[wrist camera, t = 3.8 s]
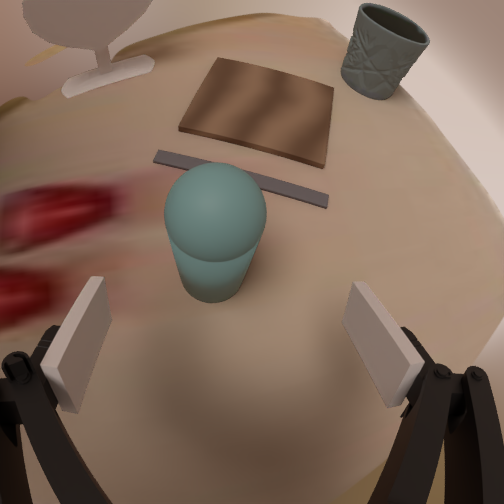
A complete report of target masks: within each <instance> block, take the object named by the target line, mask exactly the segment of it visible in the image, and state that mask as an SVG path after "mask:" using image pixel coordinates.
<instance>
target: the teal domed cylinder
mask: <svg viewBox="0 0 504 504" xmlns="http://www.w3.org/2000/svg"><path fill="white" fill-rule="evenodd" d="M266 213H267V212H266V203H265V199H264V196H263V194H262V191H261V189H260V188H259V186H258V184H257V183H256V182H255V181H254V179H253V178H252V177H251V176H250V175H249V174H247V173H246V172H245V171H243V170H241V169H240V168H238V167H235V166H233V165H230V164H226V163H206V164H202V165H199V166H196V167H194V168H192V169H190V170H188V171H187V172H185V173H184V174H183V175H182V176H181V177H180V178H179V179H178V180H177V181H176V182H175V183H174V185H173V186H172V188H171V190H170V192H169V194H168V196H167V199H166V203H165V209H164V218H165V225H166V229H167V233H168V236H169V240H170V244H171V247H172V251H173V254H174V258H175V261H176V264H177V268H178V271H179V274H180V278H181V281H182V284H183V286H184V288H185V289H186V291H187V292H188V293H189V294H190V295H191V296H193V297H194V298H196V299H197V300H200V301H202V302H207V303H218V302H222V301H225V300H227V299H229V298H230V297H232V296H233V295H234V294H235V293H236V292H237V291H238V289H239V288H240V286H241V284H242V281H243V279H244V277H245V274H246V272H247V269H248V267H249V265H250V262H251V260H252V257H253V255H254V253H255V250H256V248H257V245H258V243H259V241H260V238H261V236H262V233H263V231H264V228H265V223H266Z"/></svg>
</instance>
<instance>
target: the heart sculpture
mask: <svg viewBox="0 0 504 504" xmlns="http://www.w3.org/2000/svg"><path fill="white" fill-rule="evenodd" d="M151 2H152V0H23V3H22V4H23V15H24V18H25V20H26V22H27V24H28V25H29V27H30V29H31V31H32V33H34V34H36V35H38V36H39V37H41V38H42V39H44V40H45V41H47V42H49V43H53V44H57V45H61V46H65V47H70V48H80V49H89V50H94V51H95V55H96V59H97V63H98V67H99V68H96V69H93V70H90V71H87V72H84V73H81V74H78V75H75V76H73V77H70V78H68V79H67V81H66V82H65V84H64V85H63V87H62V90H61V91H62V94H63V95H64V96H65V97H67V98H70V97H73V96H76V95H78V94H81V93H84V92H87V91H90V90H92V89H95V88H98V87H101V86H105V85H108V84H111V83H114V82H117V81H121V80H124V79H128V78H131V77H135V76H138V75H142V74H146V73H150V72H151V71H152V69H153V67H154V64H155V61H154V60H153V59H152V58H151V57H149V56H147V55H145V54H144V55H140V56H136V57H132V58H129V59H125V60H122V61H118V62H115V63H111V60H110V56H109V51H108V45H109V44H110V43H111V42H112V41H113V40H114V39H116V38H117V37H118V36H120V35H121V34H122V33H123V32H125V31H126V30H127V29H128V28H129V27H130V26H131V25H132V24H134V22H136V21H137V20H138V19H139V18H140V17H141V16H142V15H143V14H144V13H145V11H146V10H147V8H148V7H149V5H150V4H151Z"/></svg>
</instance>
